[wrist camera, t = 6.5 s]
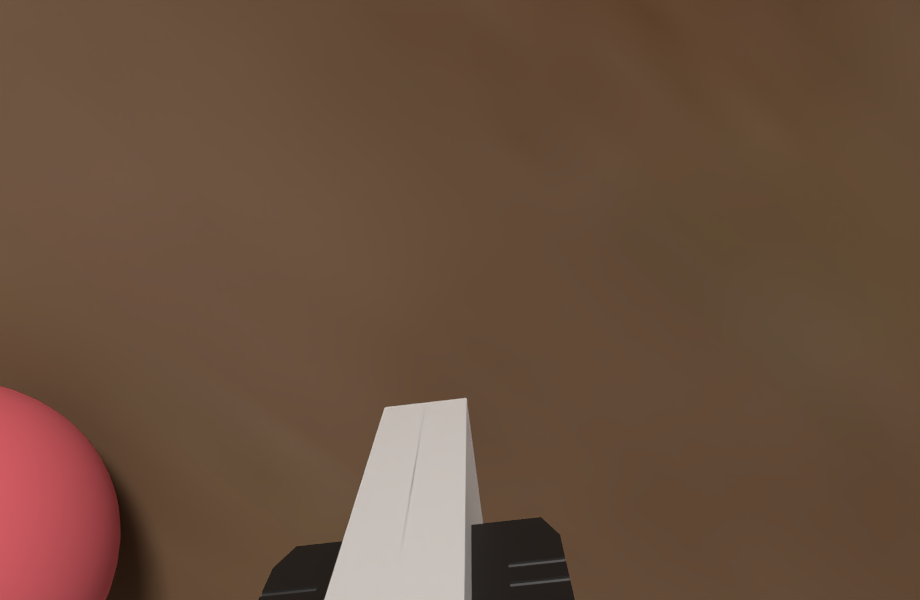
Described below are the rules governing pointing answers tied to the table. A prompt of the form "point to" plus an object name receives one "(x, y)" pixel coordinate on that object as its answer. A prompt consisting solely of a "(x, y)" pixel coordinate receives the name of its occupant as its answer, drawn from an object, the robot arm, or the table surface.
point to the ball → (53, 507)
